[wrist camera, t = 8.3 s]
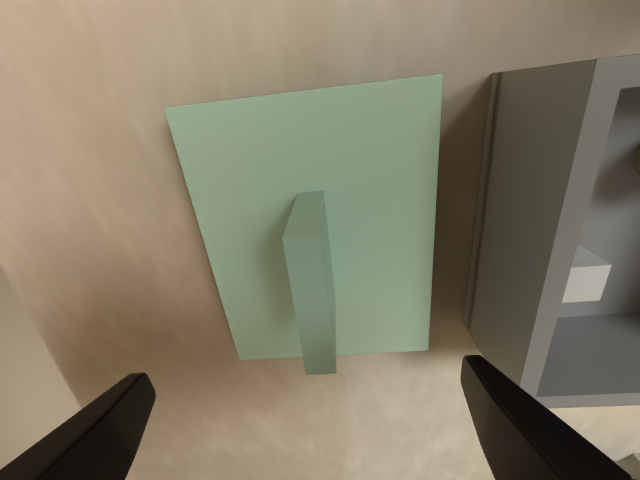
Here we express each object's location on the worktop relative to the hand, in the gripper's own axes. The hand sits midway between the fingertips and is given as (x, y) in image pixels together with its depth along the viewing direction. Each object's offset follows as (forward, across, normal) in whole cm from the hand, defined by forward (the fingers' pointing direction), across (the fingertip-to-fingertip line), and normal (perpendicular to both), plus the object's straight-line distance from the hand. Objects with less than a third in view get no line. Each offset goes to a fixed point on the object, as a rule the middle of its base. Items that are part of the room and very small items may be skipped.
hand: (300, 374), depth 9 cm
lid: (+10, 0, 0) cm, 10 cm away
